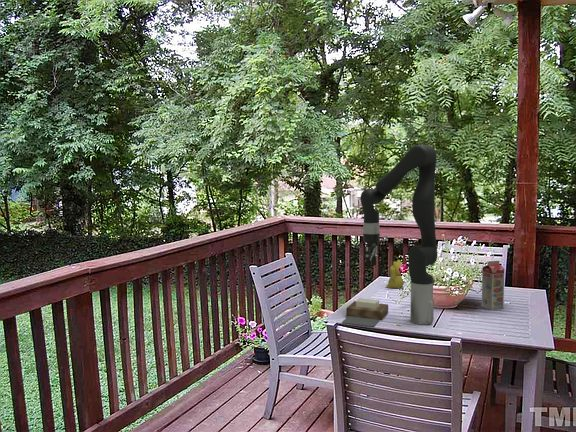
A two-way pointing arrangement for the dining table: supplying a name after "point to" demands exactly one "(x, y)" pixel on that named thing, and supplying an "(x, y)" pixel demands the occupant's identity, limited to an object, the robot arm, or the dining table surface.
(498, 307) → the juice carton
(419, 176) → the robot arm
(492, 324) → the dining table surface
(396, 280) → the figurine
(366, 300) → the tile
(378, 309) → the brown flat block
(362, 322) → the mat
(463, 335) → the dining table surface
